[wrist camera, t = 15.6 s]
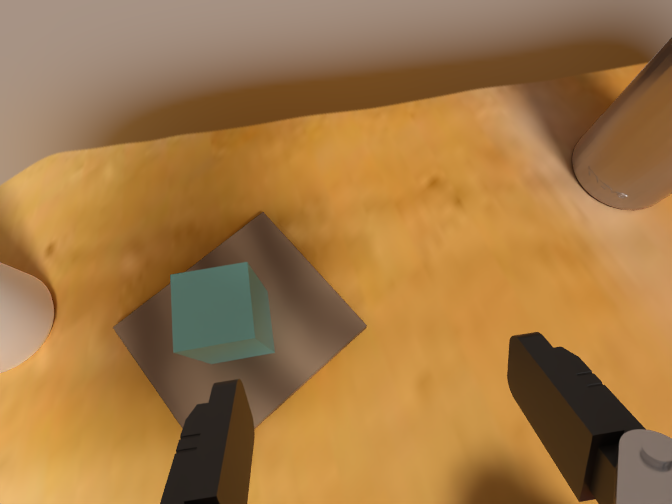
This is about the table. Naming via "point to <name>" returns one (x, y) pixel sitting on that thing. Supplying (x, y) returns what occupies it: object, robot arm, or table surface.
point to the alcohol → (22, 316)
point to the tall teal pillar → (220, 314)
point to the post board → (286, 318)
